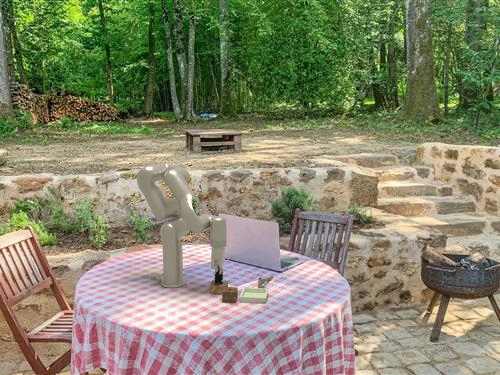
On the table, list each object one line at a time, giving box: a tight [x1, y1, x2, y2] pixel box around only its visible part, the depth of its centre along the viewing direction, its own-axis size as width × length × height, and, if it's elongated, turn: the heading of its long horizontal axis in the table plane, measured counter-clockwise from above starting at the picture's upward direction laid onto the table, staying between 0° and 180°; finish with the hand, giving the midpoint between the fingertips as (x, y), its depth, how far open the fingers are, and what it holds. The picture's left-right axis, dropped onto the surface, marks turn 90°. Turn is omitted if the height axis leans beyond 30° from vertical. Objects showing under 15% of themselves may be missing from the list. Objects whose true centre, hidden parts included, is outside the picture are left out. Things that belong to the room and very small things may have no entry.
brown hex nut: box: [208, 279, 229, 295], centre depth 233 cm, size 7×7×4 cm
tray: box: [239, 286, 269, 305], centre depth 225 cm, size 12×12×2 cm
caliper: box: [257, 275, 274, 288], centre depth 243 cm, size 20×1×6 cm, turn 159°
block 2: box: [221, 286, 239, 304], centre depth 222 cm, size 6×6×5 cm
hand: (218, 280), depth 233 cm, fingers closed
